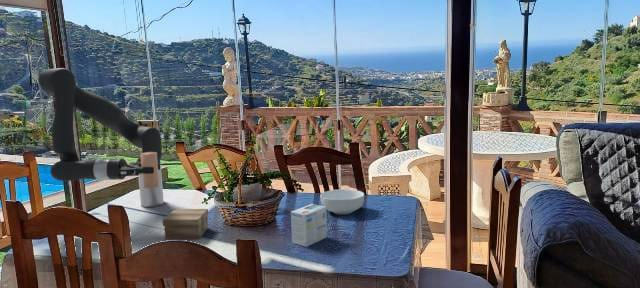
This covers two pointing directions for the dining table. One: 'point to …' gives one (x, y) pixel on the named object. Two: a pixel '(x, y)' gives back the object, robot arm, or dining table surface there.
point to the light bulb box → (309, 224)
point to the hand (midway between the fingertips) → (156, 168)
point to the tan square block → (185, 224)
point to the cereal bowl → (342, 200)
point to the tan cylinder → (150, 161)
